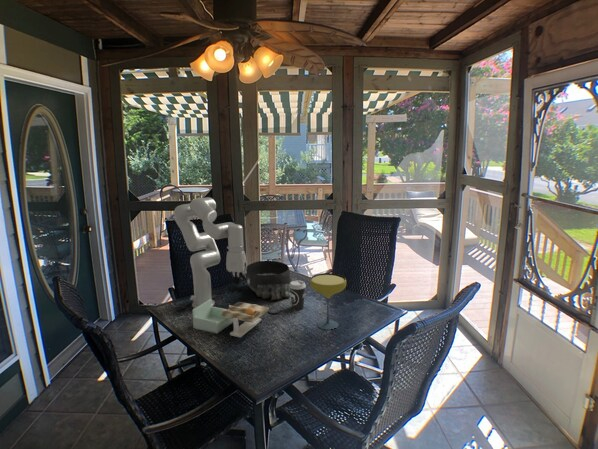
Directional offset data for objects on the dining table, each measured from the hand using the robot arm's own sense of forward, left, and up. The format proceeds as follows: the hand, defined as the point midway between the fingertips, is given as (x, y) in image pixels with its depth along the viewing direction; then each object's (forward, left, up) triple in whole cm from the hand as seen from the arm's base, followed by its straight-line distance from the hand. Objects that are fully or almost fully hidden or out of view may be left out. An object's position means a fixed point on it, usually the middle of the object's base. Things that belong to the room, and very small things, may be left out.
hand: (237, 283), depth 195 cm
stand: (+7, -4, -21) cm, 23 cm away
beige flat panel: (+7, -4, -13) cm, 15 cm away
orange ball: (+12, -8, -10) cm, 18 cm away
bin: (-10, -8, -21) cm, 25 cm away
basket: (-7, +43, -21) cm, 48 cm away
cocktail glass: (+44, +15, -21) cm, 51 cm away
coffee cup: (+21, +28, -21) cm, 41 cm away
